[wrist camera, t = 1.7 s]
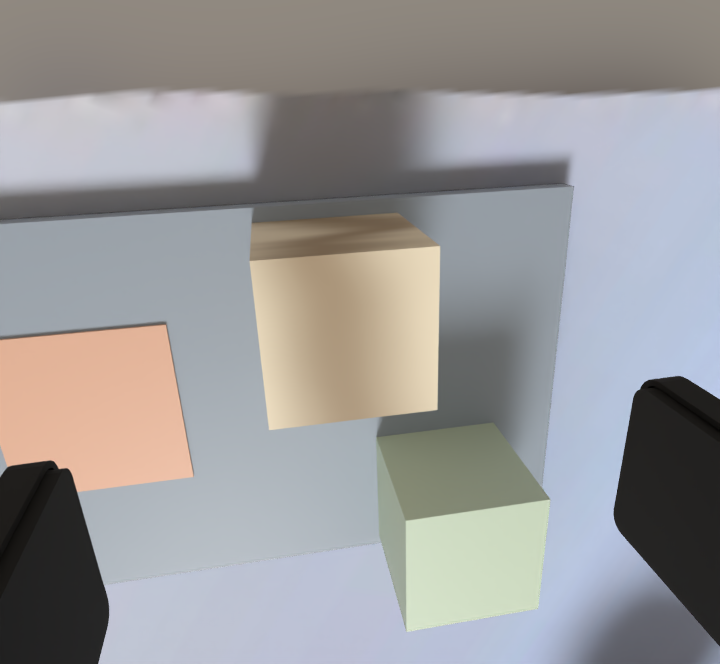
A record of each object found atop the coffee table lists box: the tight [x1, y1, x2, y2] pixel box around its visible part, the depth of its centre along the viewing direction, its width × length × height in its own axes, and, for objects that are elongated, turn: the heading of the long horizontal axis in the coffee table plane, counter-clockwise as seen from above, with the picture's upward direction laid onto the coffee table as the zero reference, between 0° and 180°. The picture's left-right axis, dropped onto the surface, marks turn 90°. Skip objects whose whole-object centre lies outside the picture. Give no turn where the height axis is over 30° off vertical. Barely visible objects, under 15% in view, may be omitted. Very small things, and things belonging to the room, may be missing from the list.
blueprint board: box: [0, 184, 574, 585], centre depth 22 cm, size 24×15×1 cm, turn 92°
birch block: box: [250, 213, 440, 430], centre depth 18 cm, size 5×5×5 cm
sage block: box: [376, 422, 550, 632], centre depth 22 cm, size 5×5×5 cm
